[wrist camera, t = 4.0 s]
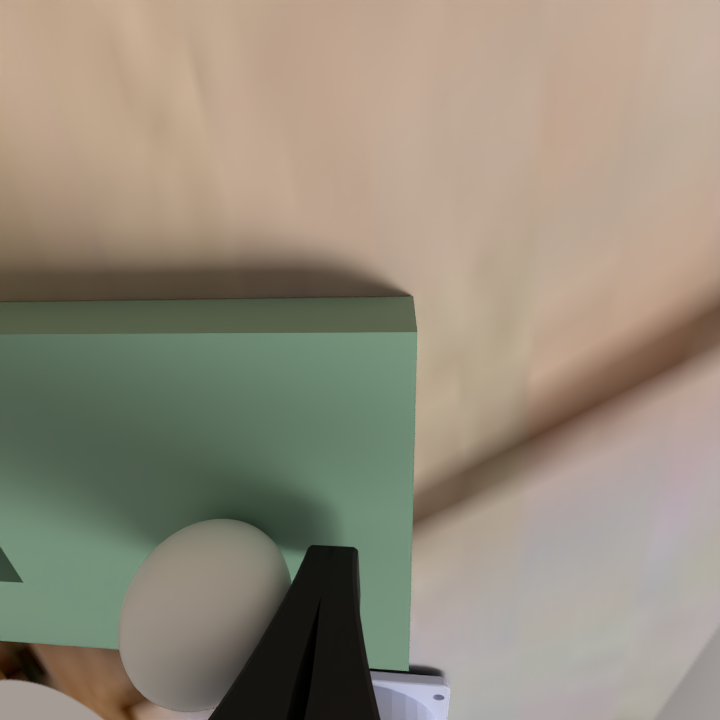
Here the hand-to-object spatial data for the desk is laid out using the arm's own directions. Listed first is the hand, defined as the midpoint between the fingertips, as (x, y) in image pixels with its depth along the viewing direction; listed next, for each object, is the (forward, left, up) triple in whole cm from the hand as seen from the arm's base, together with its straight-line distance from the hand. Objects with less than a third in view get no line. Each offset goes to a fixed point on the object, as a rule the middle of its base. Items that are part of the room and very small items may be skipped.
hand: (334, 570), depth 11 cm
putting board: (0, +9, -3) cm, 10 cm away
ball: (0, +3, +1) cm, 3 cm away
